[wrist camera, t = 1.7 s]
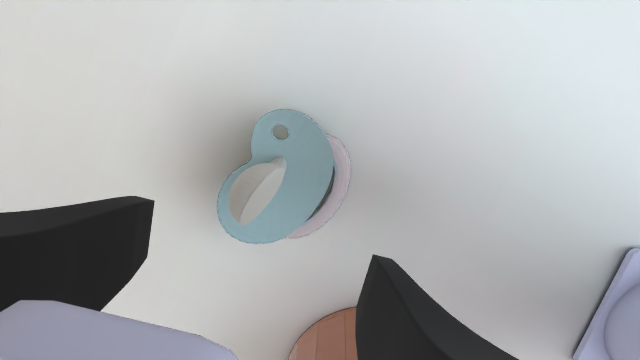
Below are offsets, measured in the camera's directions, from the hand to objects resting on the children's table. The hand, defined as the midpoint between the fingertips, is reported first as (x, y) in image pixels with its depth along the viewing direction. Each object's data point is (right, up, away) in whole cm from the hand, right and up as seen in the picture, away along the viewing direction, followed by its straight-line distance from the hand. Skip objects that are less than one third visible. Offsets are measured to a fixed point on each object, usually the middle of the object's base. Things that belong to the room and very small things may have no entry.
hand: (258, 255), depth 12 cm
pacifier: (0, +3, +9) cm, 10 cm away
